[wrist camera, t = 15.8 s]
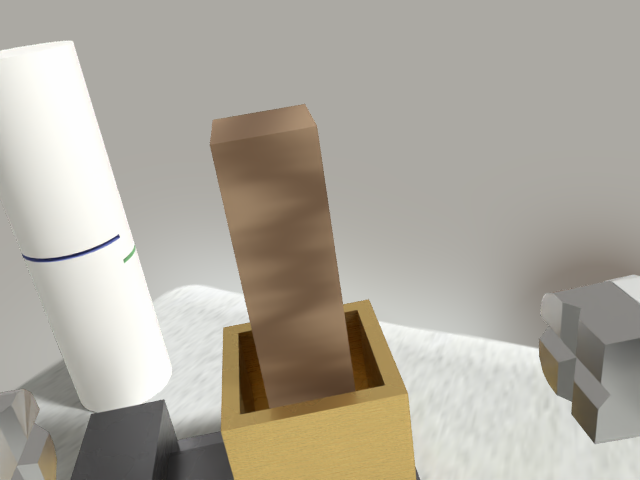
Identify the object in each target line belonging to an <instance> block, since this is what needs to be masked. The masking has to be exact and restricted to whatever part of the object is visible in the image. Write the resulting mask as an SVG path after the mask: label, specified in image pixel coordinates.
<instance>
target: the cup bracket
mask: <svg viewBox="0 0 640 480" xmlns="http://www.w3.org/2000/svg"><path fill="white" fill-rule="evenodd" d="M343 308H344V315H345V322H346V329H347V336H348V342H349V349H350V356H351V363H352V370H353V377H354V384H355V390H356V391H355V392H350V393H345V394H340V395H335V396H330V397H325V398H320V399H315V400H310V401H305V402H300V403H296V404H291V405H286V406H281V407H276V408H271V409H270V408H269V403H268V399H267V395H266V390H265V386H264V381H263V377H262V373H261V368H260V364H259V359H258V355H257V350H256V346H255V342H254V337H253V333H252V328H251V324H250V323H245V324H240V325H234V326H229V327H224V328H223V365H222V408H221V431H220V432H215V433H210V434H205V435H200V436H196V437H191V438H186V439H181V440H177V437H176V434H175V431H174V428H173V425H172V422H171V419H170V416H169V412H168V409H167V406H166V403H165V400H159V401H154V402H149V403H144V404H139V405H134V406H129V407H124V408H119V409H114V410H109V411H104V412H99V413H94V414H91V416H90V420H89V423H88V426H87V429H86V432H85V436H84V439H83V442H82V445H81V448H80V451H79V455H78V458H77V461H76V464H75V467H74V470H73V474H72V477H71V480H420V478H419V475H418V473H417V470H416V467H415V460H414V450H413V440H412V430H411V420H410V410H409V399H408V392H407V390H406V388H405V385H404V383H403V380H402V378H401V376H400V373H399V371H398V368H397V366H396V363H395V361H394V359H393V356H392V354H391V351H390V349H389V347H388V344H387V342H386V339H385V337H384V335H383V332H382V330H381V327H380V325H379V322H378V320H377V318H376V315H375V313H374V311H373V308H372V306H371V303H370V301H369V300H364V301H358V302H354V303H348V304H343Z"/></svg>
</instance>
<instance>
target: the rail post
mask: <svg viewBox="0 0 640 480" xmlns="http://www.w3.org/2000/svg"><path fill="white" fill-rule="evenodd" d="M210 147H211V152H212V156H213V161H214V165H215V169H216V174H217V178H218V183H219V187H220V192H221V196H222V200H223V205H224V209H225V214H226V218H227V223H228V227H229V231H230V236H231V240H232V245H233V249H234V253H235V258H236V262H237V266H238V271H239V275H240V280H241V284H242V289H243V293H244V298H245V302H246V306H247V311H248V315H249V320H250V324H251V328H252V333H253V337H254V342H255V346H256V350H257V355H258V359H259V364H260V368H261V373H262V377H263V381H264V386H265V390H266V395H267V399H268V403H269V408H270V409H271V408H276V407H281V406H286V405H291V404H296V403H300V402H305V401H310V400H315V399H320V398H325V397H330V396H335V395H340V394H345V393H350V392H355V391H356V390H355V384H354V377H353V370H352V363H351V356H350V349H349V342H348V336H347V329H346V322H345V315H344V308H343V302H342V294H341V287H340V282H339V274H338V267H337V261H336V254H335V246H334V240H333V233H332V226H331V219H330V212H329V206H328V198H327V192H326V184H325V178H324V171H323V164H322V157H321V151H320V143H319V136H318V130H317V125H316V123H315V122H314V120H313V118H312V116H311V114H310V113H309V111H308V109H307V107H306V105H305V104H302V105H298V106H291V107H285V108H279V109H274V110H268V111H262V112H256V113H250V114H244V115H239V116H233V117H227V118H221V119H215V120H213V123H212V131H211V140H210Z"/></svg>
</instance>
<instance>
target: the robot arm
mask: <svg viewBox="0 0 640 480" xmlns="http://www.w3.org/2000/svg"><path fill="white" fill-rule="evenodd" d="M540 316H541V317H542V319H543V320H544V321H545V322H546V323H547V324H548V325H549V326H548V328H547V329H546V330H545V332H544V333H543V335H542V336H541V337H540V339H539V357H540V362H541V366H542V370H543V373H544V375H545V377H546V379H547V381H548V384H549V385H550V386H551V388H552V389H553V391H554V392H555V393H556V395H558V396H560V397H562V398H565V399H567V400H569V401H571V402H572V412H571V414H572V415H573V417H574V418H575V419H576V421H577V422H578V423H579V424H580V426H581V427H582V428H583V430H584V431H585V432H586V433H587V435H588V436H589V437H590V438H591V440H592V441H593V442H594V444H599V443H605V442H610V441H616V440H622V439H627V438H633V437H639V436H640V276H636V275H630V276H625V277H621V278H616V279H612V280H608V281H604V282H600V283H596V284H591V285H586V286H581V287H576V288H571V289H566V290H561V291H556V292H551V293H546V294H544V297H543V299H542V302H541V314H540ZM38 412H39V407H38V405H37V403H36V401H35V399H34V397H33V395H32V393H31V392H29V391H27V390H25V389H19V390H13V391H7V392H1V393H0V480H56V466H57V458H56V453H55V448H54V444H53V441H52V439H51V436H50V434H49V432H48V431H46V430H45V429H43V428H41V427H40V426H38V425H36V424H35V423H34V422H35V420H36V417H37V415H38Z"/></svg>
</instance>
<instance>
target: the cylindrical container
mask: <svg viewBox="0 0 640 480" xmlns="http://www.w3.org/2000/svg"><path fill="white" fill-rule="evenodd" d="M0 200H1V203H2V205H3V208H4V210H5V213H6V215H7V218H8V220H9V223H10V226H11V228H12V230H13V233H14V235H15V238H16V241H17V243H18V245H19V248H20V250H21V253H22V256H23V258H24V261H25V263H26V266H27V268H28V271H29V273H30V276H31V278H32V281H33V283H34V286H35V288H36V291H37V294H38V296H39V299H40V301H41V304H42V306H43V309H44V311H45V314H46V316H47V319H48V321H49V324H50V326H51V329H52V332H53V334H54V336H55V339H56V342H57V344H58V347H59V349H60V351H61V354H62V357H63V359H64V362H65V364H66V367H67V369H68V372H69V374H70V377H71V379H72V382H73V384H74V387H75V389H76V392H77V394H78V397H79V399H80V402H81V404H82V405H83V406H84V407H85V408H86V409H88V410H90V411H93V412H98V413H99V412H104V411H109V410H114V409H119V408H124V407H129V406H134V405H139V404H142V403H144V402H146V401H147V400H149V399H150V398H152V397H153V396H155V395H156V394H157V393H159V392H160V391H161V390H162V389H163V388H164V387H165V385H166V384H167V382H168V381H169V379H170V377H171V374H172V366H171V363H170V359H169V356H168V353H167V349H166V346H165V343H164V340H163V336H162V333H161V330H160V326H159V323H158V320H157V317H156V313H155V310H154V307H153V303H152V300H151V297H150V293H149V290H148V287H147V284H146V281H145V277H144V274H143V270H142V267H141V264H140V261H139V257H138V254H137V251H136V248H135V245H134V241H133V238H132V234H131V231H130V228H129V225H128V222H127V218H126V215H125V211H124V208H123V205H122V202H121V198H120V195H119V192H118V188H117V186H116V182H115V179H114V175H113V172H112V169H111V165H110V162H109V159H108V156H107V152H106V149H105V146H104V142H103V139H102V136H101V132H100V129H99V126H98V123H97V120H96V116H95V113H94V110H93V106H92V103H91V100H90V96H89V93H88V90H87V87H86V83H85V80H84V77H83V73H82V70H81V67H80V63H79V60H78V57H77V53H76V50H75V47H74V44H73V41H58V42H50V43H42V44H35V45H29V46H23V47H18V48H12V49H6V50H1V51H0Z"/></svg>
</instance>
